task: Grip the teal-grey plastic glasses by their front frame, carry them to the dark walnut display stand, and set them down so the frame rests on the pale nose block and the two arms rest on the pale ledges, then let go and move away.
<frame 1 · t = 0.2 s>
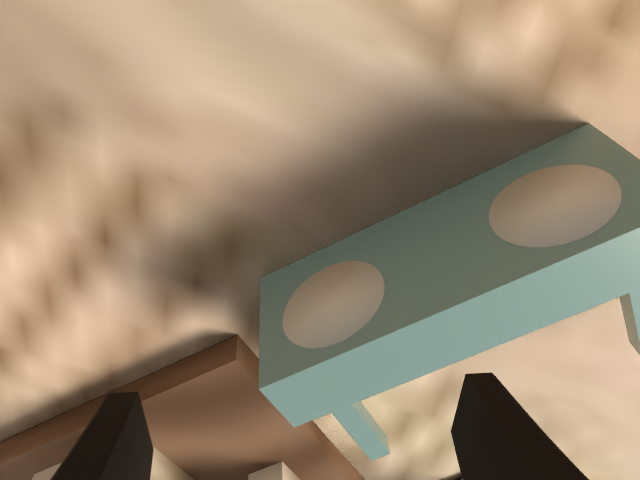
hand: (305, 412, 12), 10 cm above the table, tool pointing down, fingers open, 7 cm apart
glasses: (423, 225, 21), on the table
display stand: (124, 451, 27), on the table
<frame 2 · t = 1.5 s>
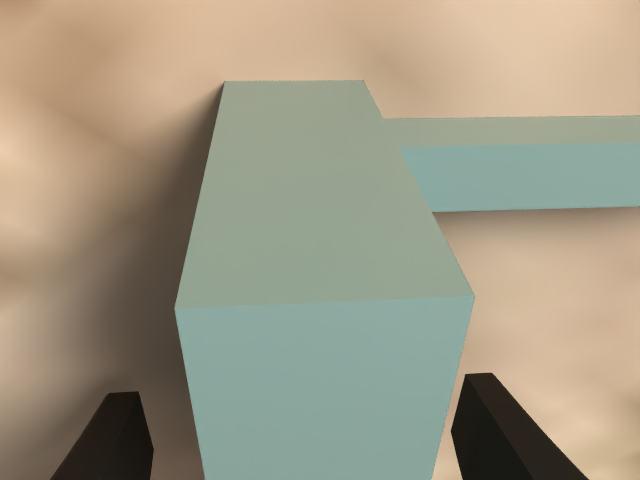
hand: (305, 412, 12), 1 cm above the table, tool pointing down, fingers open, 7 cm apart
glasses: (296, 359, 13), on the table
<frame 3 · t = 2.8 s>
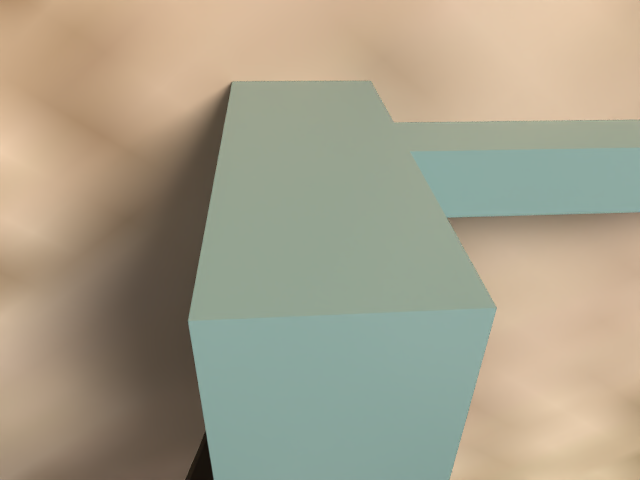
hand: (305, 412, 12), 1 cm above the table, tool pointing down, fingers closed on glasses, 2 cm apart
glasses: (301, 363, 13), on the table, touching gripper
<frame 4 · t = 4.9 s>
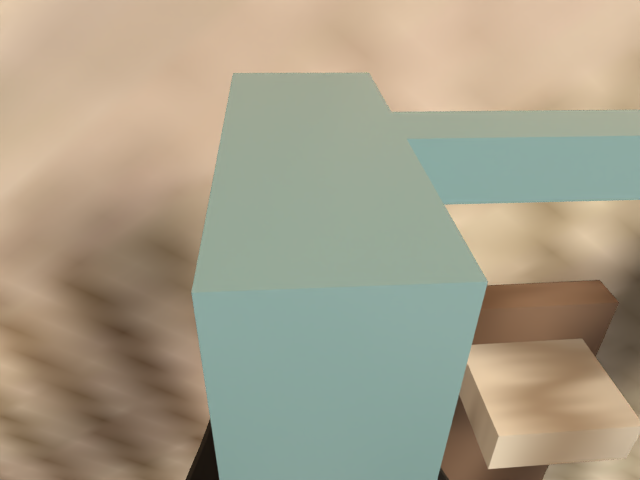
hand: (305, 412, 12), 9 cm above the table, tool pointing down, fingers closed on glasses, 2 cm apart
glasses: (301, 354, 13), point 8 cm above the table, touching gripper
display stand: (363, 430, 27), on the table
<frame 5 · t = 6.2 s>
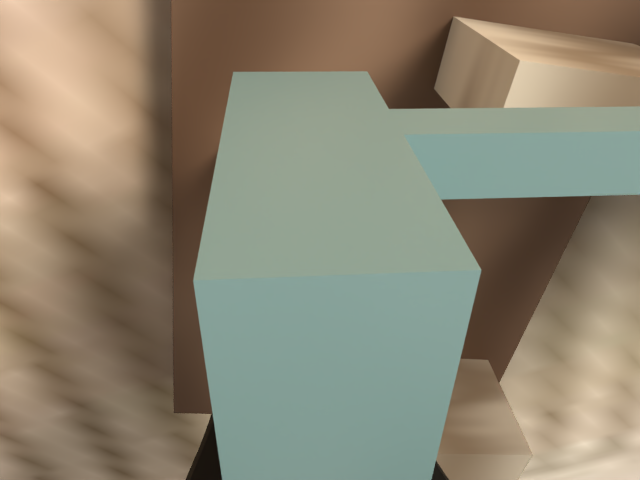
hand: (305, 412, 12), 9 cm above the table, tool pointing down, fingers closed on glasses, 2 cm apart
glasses: (301, 351, 13), point 7 cm above the table, touching gripper
display stand: (291, 212, 19), on the table
when the fingers open (6 cm above the table, at t = 7.3 s): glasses stays where it is, resting on display stand.
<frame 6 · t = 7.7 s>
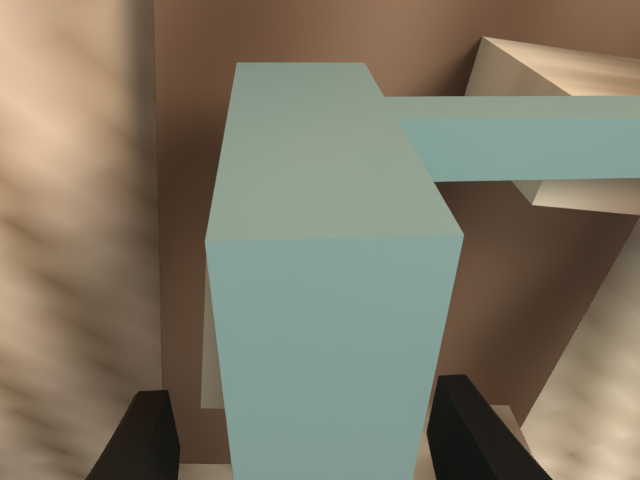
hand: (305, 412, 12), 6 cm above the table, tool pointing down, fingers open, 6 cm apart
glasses: (300, 334, 14), point 4 cm above the table, touching display stand
display stand: (293, 249, 17), on the table
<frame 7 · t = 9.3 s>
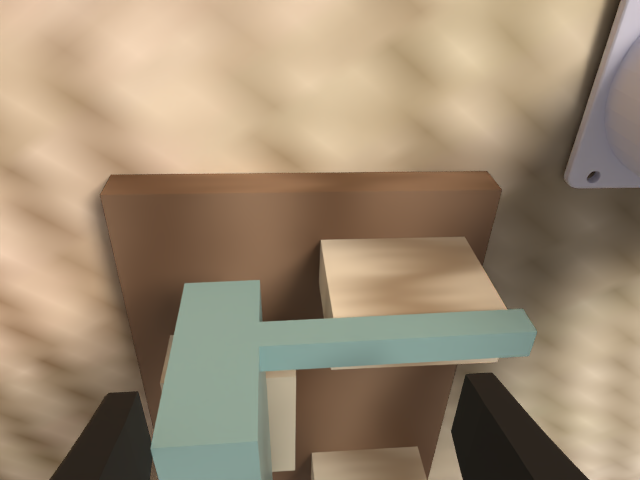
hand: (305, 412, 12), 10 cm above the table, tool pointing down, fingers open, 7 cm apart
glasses: (238, 420, 21), point 4 cm above the table, touching display stand
display stand: (237, 357, 24), on the table
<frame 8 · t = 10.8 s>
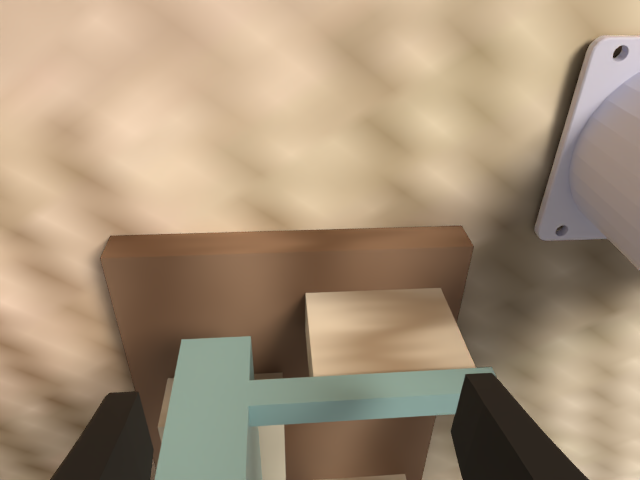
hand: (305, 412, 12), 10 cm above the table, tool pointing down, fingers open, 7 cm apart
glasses: (232, 457, 22), point 4 cm above the table, touching display stand
display stand: (232, 393, 26), on the table
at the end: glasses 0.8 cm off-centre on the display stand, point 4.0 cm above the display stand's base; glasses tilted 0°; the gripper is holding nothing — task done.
